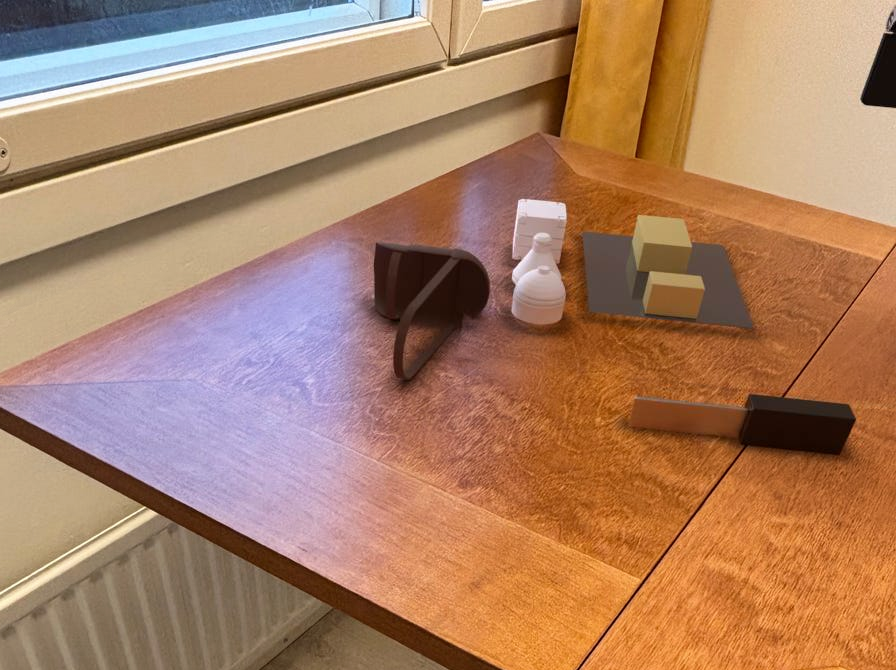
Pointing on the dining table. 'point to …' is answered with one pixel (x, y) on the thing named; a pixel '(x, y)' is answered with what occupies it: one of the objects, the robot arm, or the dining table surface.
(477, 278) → the brown basket
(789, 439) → the knife
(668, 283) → the butter pat
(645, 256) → the butter block
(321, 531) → the dining table surface
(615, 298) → the slate board
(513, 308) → the container set
